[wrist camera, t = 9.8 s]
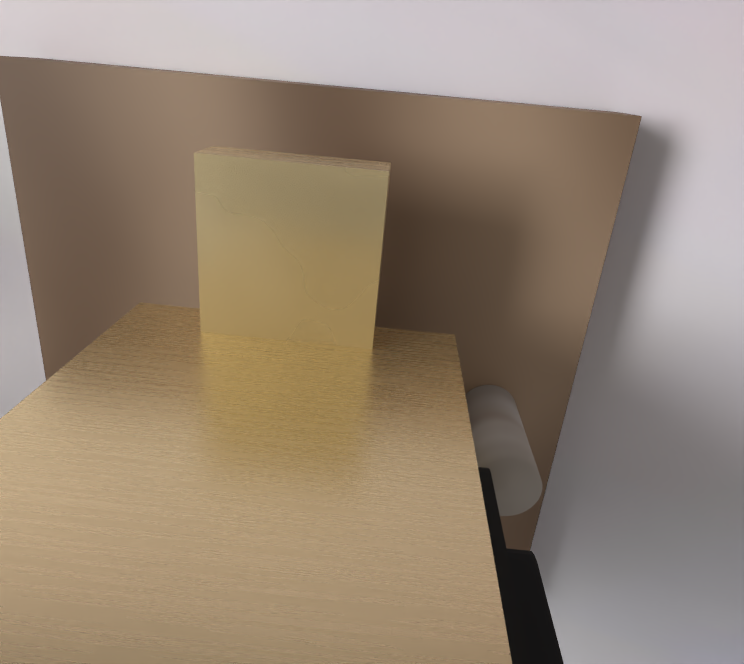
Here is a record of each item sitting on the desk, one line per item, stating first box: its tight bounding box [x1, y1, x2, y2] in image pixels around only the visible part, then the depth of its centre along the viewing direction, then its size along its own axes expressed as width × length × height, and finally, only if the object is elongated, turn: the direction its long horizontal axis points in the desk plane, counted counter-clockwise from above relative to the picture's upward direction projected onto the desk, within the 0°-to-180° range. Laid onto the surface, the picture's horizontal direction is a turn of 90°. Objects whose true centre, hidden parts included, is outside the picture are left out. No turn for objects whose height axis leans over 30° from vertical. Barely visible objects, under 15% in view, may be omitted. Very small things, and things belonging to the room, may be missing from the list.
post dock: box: [0, 56, 642, 551], centre depth 12 cm, size 13×14×8 cm
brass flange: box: [0, 146, 512, 664], centre depth 9 cm, size 12×6×8 cm, turn 175°
